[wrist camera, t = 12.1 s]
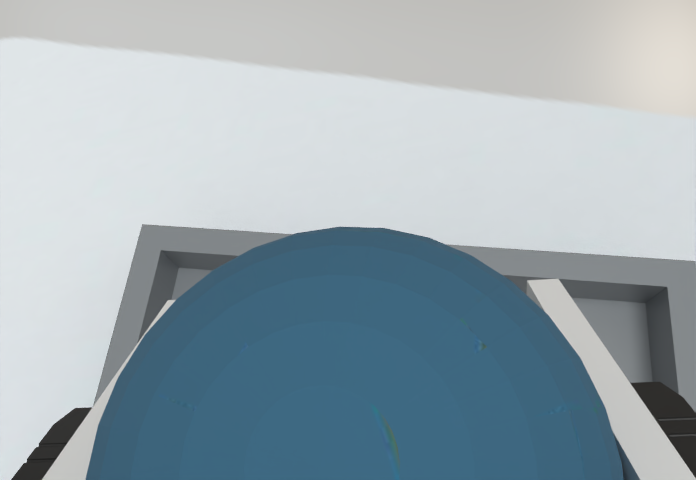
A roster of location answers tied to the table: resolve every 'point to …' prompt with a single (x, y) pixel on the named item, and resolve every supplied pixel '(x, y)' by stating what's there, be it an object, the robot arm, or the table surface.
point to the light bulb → (354, 373)
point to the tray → (517, 265)
